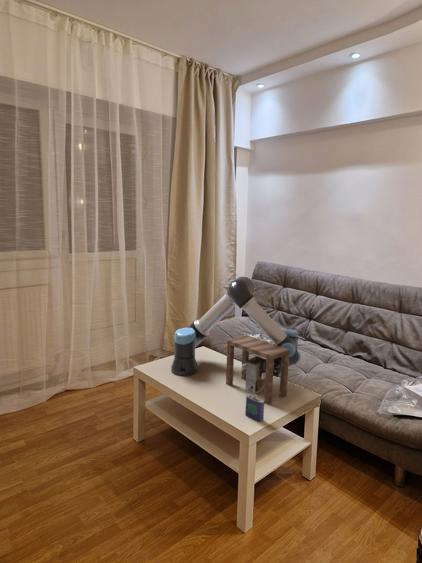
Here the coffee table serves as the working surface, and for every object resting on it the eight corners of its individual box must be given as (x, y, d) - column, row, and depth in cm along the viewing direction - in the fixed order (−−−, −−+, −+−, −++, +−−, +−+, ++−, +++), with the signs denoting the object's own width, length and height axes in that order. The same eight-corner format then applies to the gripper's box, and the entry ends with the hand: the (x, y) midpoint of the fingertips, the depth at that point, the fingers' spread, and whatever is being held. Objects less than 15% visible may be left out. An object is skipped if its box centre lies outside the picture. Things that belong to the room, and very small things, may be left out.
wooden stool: (225, 384, 199) (227, 340, 195) (244, 377, 208) (245, 335, 204) (268, 405, 177) (271, 356, 173) (286, 396, 186) (289, 349, 182)
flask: (264, 420, 163) (265, 397, 162) (260, 423, 161) (261, 399, 160) (247, 412, 170) (248, 390, 168) (243, 415, 167) (244, 392, 166)
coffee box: (255, 385, 198) (256, 355, 195) (265, 389, 194) (266, 359, 191) (244, 390, 191) (245, 360, 189) (255, 394, 187) (256, 363, 184)
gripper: (297, 376, 194) (271, 387, 180) (260, 362, 212) (233, 371, 198) (298, 362, 193) (271, 372, 179) (261, 349, 211) (234, 357, 197)
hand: (251, 372), depth 189 cm, fingers open, 13 cm apart
